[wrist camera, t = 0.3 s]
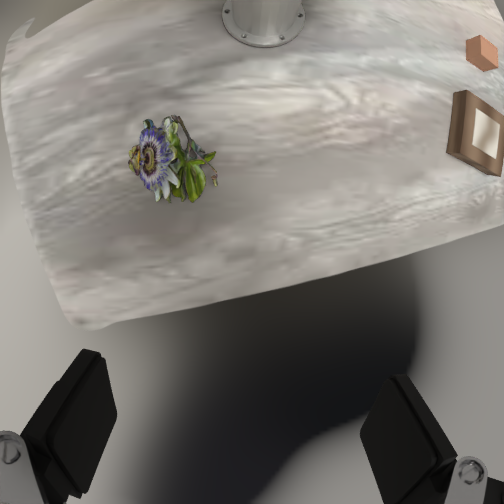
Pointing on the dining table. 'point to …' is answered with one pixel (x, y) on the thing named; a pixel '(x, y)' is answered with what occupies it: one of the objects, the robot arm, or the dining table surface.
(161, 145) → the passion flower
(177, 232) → the dining table surface
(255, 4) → the robot arm
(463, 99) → the walnut frame
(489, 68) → the terracotta cube
